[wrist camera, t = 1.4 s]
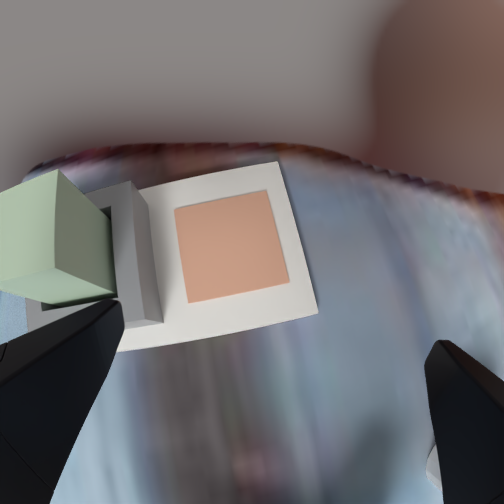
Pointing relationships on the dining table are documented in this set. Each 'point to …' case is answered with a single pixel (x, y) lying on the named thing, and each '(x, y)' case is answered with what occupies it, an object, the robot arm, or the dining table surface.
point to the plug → (55, 244)
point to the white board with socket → (200, 258)
